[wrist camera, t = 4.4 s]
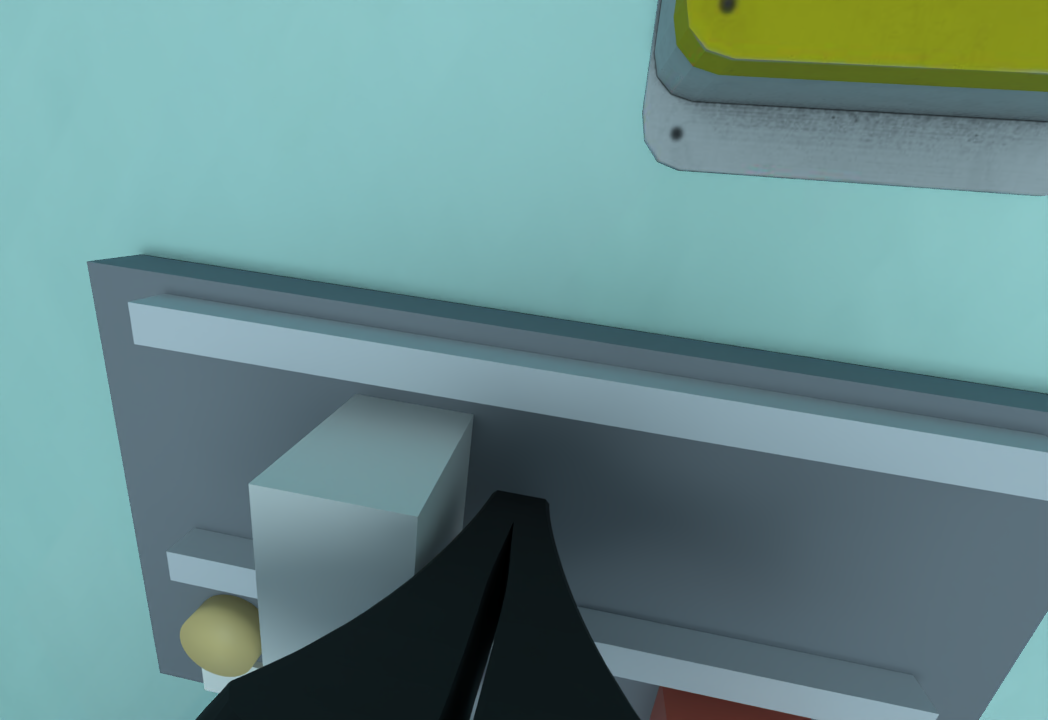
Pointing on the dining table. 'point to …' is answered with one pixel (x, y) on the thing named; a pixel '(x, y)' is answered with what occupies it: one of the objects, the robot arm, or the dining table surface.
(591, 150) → the dining table surface
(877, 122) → the emergency button
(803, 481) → the panel
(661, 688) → the block
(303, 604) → the lever
